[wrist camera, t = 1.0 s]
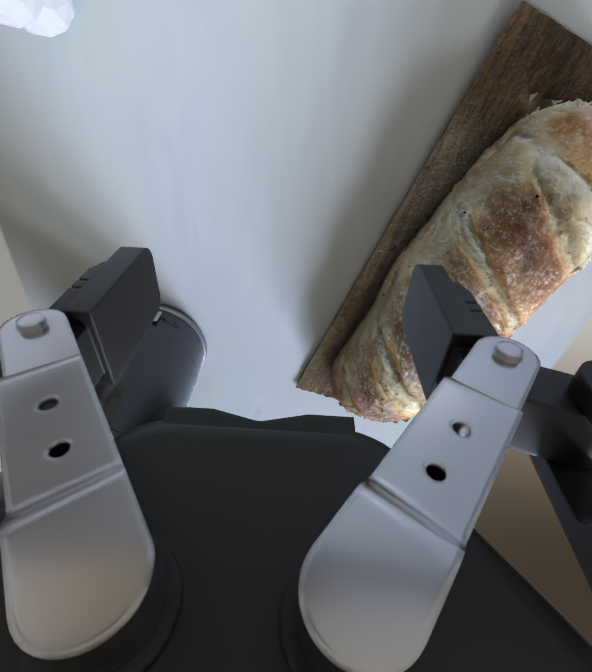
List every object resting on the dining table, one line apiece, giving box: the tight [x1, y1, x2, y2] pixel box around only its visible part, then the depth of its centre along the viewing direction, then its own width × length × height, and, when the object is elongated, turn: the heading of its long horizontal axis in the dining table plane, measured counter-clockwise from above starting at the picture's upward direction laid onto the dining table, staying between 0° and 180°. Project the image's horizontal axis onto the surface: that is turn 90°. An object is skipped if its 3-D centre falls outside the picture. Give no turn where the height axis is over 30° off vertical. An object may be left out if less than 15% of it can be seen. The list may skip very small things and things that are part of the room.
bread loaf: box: [296, 0, 592, 423], centre depth 30 cm, size 35×18×9 cm, turn 164°
